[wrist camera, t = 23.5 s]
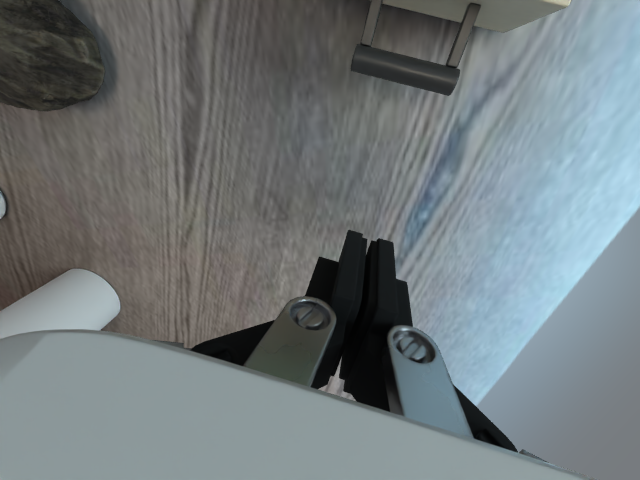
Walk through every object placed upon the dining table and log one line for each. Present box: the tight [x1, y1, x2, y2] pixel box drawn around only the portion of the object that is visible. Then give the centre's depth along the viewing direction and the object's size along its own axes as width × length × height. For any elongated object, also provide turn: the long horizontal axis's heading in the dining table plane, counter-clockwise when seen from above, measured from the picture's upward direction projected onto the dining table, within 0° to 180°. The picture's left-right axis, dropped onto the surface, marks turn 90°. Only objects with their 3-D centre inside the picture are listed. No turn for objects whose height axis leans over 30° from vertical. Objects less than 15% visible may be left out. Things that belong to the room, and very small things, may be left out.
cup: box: [0, 269, 120, 339], centre depth 33 cm, size 8×8×16 cm
